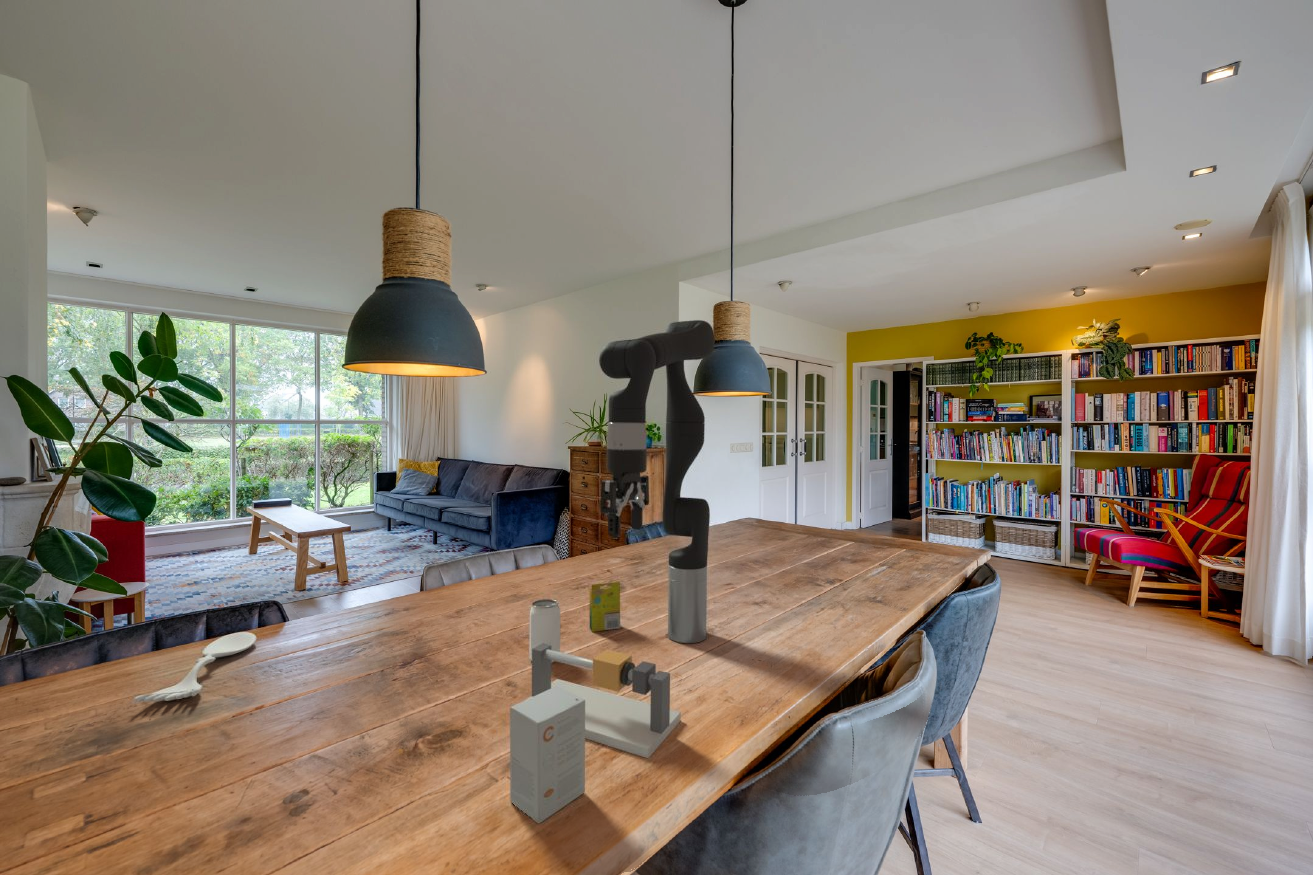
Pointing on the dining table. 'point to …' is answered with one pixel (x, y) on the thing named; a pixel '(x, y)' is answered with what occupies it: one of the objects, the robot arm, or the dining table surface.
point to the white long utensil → (215, 649)
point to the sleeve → (609, 669)
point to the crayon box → (605, 607)
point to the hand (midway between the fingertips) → (625, 532)
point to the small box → (547, 752)
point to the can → (545, 624)
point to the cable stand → (615, 703)
